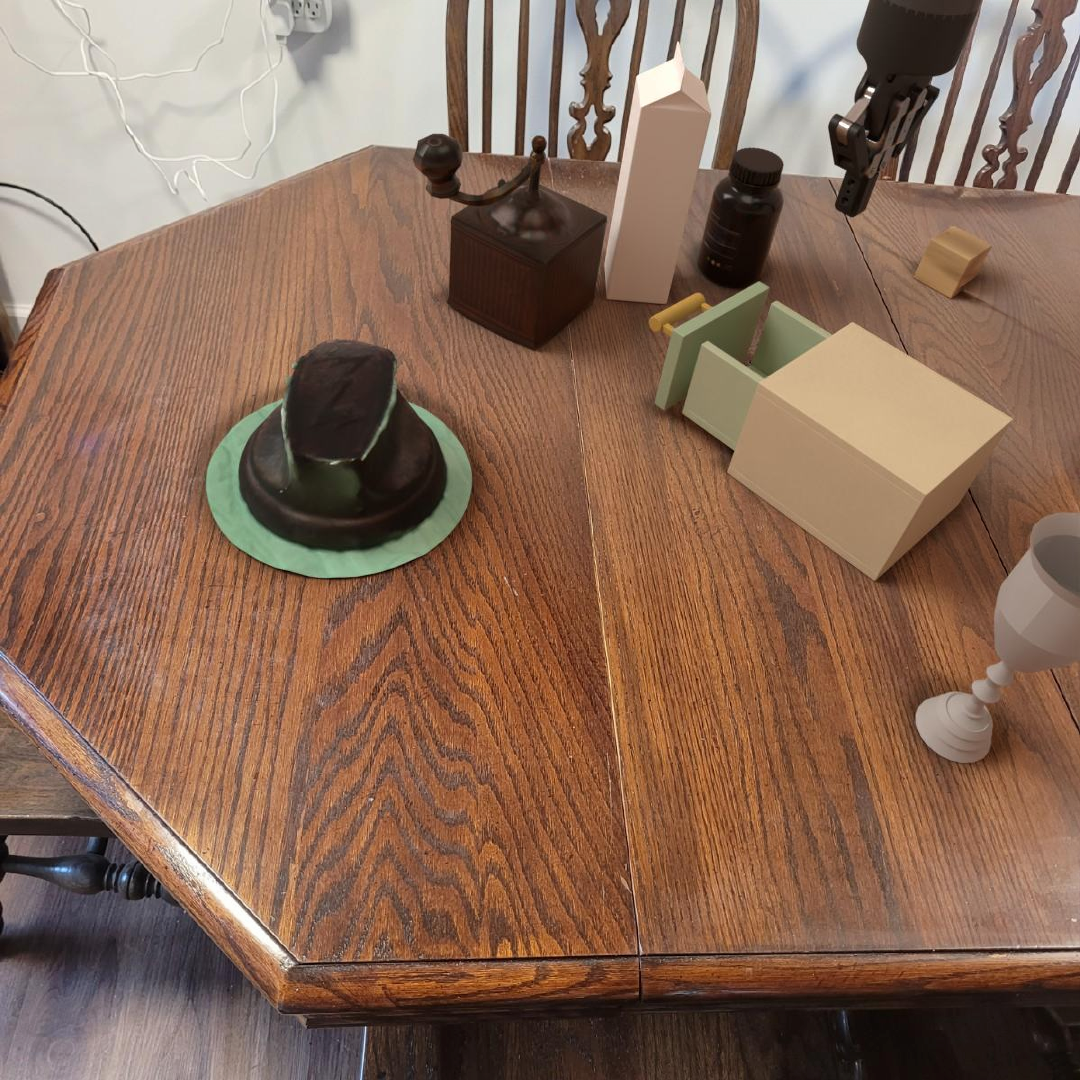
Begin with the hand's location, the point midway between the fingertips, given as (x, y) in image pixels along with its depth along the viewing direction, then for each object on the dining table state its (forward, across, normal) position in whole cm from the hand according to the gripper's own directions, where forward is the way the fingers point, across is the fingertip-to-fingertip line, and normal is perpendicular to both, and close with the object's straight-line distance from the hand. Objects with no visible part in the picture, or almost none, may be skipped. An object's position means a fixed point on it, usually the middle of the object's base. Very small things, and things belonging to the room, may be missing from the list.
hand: (848, 210), depth 80 cm
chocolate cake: (+13, -45, +12) cm, 48 cm away
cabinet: (+13, -14, -14) cm, 24 cm away
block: (+14, +21, -4) cm, 25 cm away
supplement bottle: (+14, +3, +12) cm, 18 cm away
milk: (+13, -7, +16) cm, 22 cm away
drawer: (+12, -14, -3) cm, 19 cm away
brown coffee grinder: (+13, -21, +20) cm, 32 cm away
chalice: (+14, -27, -32) cm, 44 cm away
